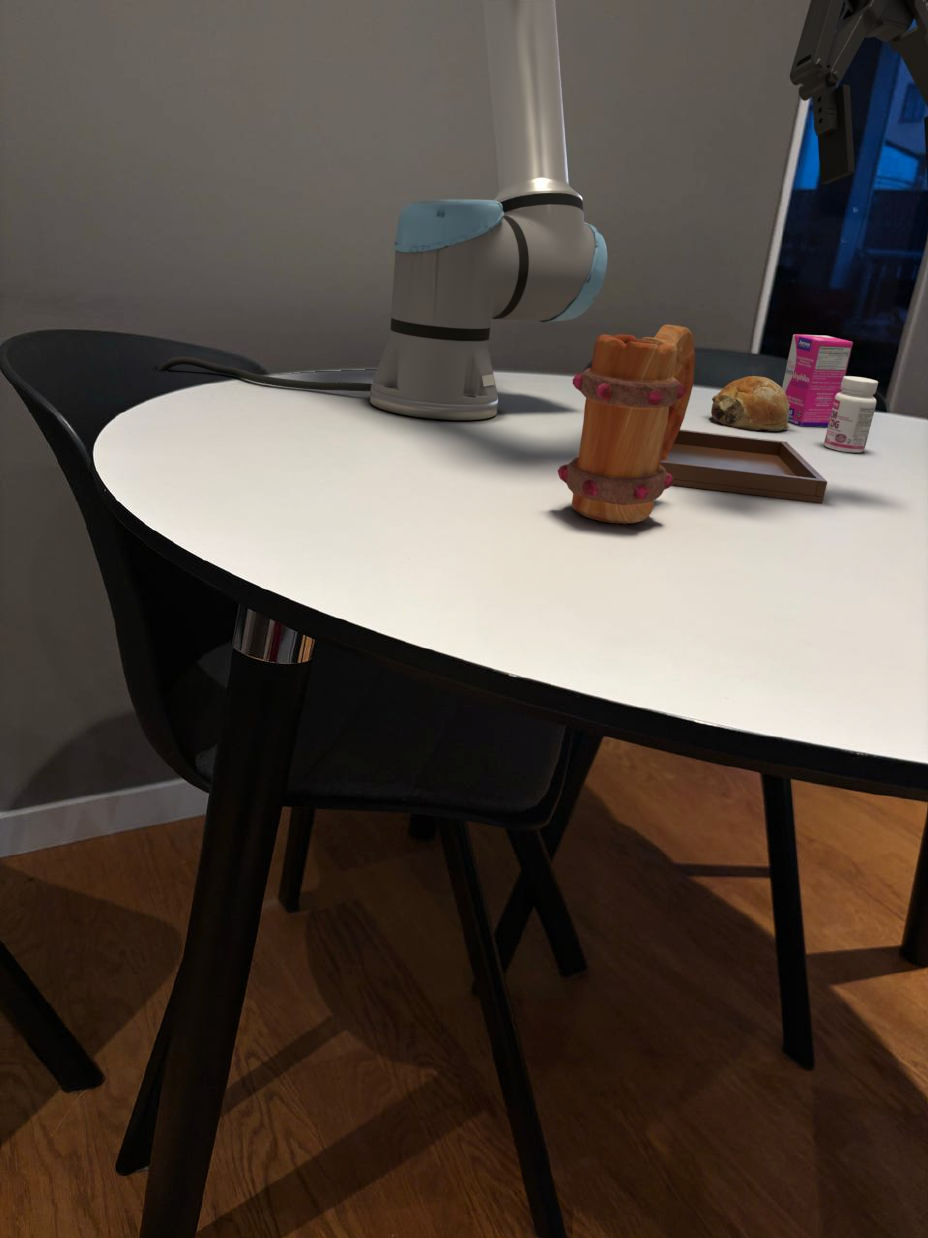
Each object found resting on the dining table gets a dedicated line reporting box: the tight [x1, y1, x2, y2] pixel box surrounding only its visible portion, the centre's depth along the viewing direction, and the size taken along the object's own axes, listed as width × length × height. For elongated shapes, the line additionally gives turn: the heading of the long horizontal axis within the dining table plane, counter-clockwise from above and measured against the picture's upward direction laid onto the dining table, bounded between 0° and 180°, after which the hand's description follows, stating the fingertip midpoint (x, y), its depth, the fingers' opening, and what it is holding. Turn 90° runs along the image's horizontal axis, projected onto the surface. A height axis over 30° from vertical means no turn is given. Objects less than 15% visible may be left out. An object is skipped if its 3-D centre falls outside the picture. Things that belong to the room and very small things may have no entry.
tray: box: [660, 428, 828, 504], centre depth 101 cm, size 21×19×2 cm
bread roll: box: [710, 375, 790, 432], centre depth 128 cm, size 10×10×8 cm
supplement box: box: [781, 333, 854, 428], centre depth 133 cm, size 6×6×12 cm
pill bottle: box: [823, 375, 879, 454], centre depth 118 cm, size 5×5×8 cm
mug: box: [557, 323, 696, 525], centre depth 79 cm, size 15×8×15 cm, turn 143°
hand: (893, 184), depth 81 cm, fingers open, 13 cm apart
